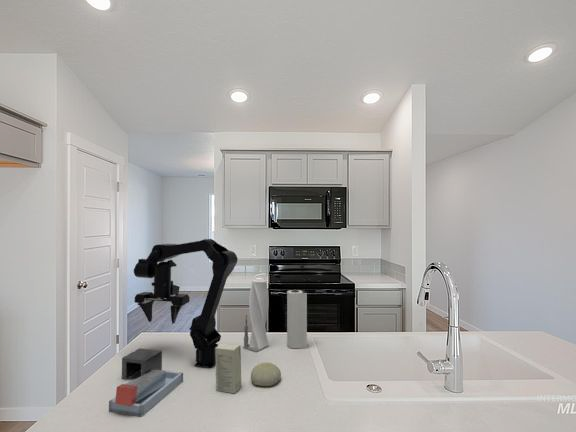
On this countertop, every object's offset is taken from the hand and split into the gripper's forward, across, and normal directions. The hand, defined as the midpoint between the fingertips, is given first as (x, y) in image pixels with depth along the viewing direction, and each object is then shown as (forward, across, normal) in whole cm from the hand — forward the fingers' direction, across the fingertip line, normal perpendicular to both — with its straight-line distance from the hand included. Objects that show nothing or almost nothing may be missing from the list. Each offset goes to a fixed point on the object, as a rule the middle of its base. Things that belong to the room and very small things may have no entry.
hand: (161, 322), depth 116 cm
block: (+12, -2, +14) cm, 19 cm away
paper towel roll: (+12, -46, -19) cm, 51 cm away
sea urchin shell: (+12, -41, +10) cm, 44 cm away
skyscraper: (+12, -31, -16) cm, 37 cm away
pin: (+10, -12, +27) cm, 31 cm away
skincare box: (+12, -32, +16) cm, 38 cm away
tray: (+12, -12, +24) cm, 29 cm away
